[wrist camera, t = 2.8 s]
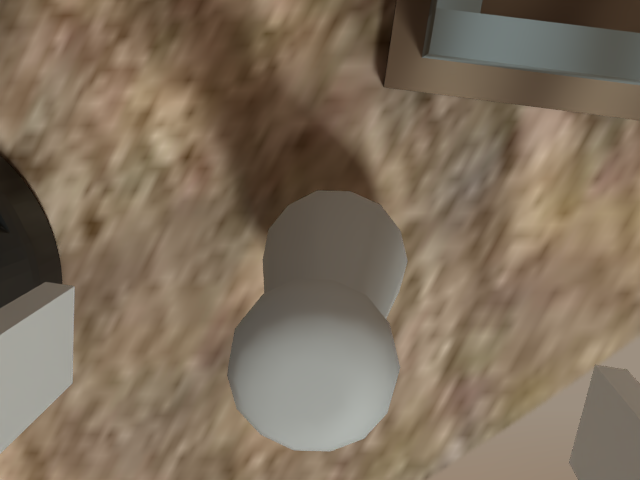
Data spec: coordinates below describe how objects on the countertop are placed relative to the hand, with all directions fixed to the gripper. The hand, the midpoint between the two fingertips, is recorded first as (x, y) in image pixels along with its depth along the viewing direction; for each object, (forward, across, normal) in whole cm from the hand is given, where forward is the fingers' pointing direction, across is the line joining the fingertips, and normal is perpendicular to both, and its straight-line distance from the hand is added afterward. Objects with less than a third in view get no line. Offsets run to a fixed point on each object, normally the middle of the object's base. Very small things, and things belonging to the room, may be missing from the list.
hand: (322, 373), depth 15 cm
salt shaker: (+12, 0, 0) cm, 12 cm away
